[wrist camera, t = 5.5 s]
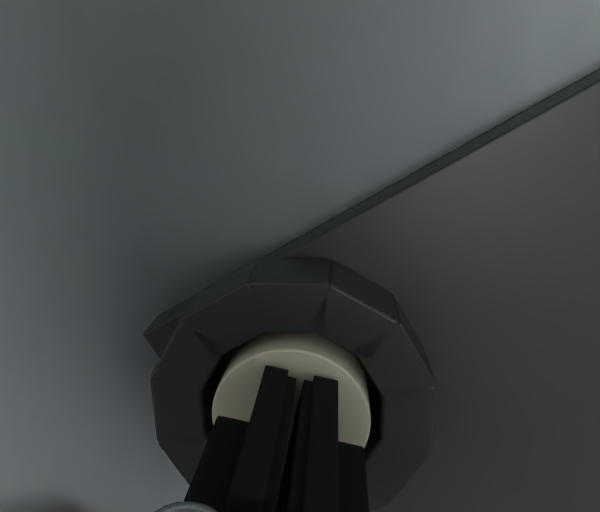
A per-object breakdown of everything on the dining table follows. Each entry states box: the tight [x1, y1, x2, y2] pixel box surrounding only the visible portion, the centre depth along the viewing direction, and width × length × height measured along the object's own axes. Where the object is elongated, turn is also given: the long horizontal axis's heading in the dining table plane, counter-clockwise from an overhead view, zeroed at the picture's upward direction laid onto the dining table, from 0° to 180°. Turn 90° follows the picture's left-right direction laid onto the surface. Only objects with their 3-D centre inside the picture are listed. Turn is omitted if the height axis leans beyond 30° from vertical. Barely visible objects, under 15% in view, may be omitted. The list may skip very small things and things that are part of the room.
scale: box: [143, 69, 600, 512], centre depth 13 cm, size 18×14×3 cm
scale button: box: [212, 332, 371, 473], centre depth 12 cm, size 4×4×2 cm
